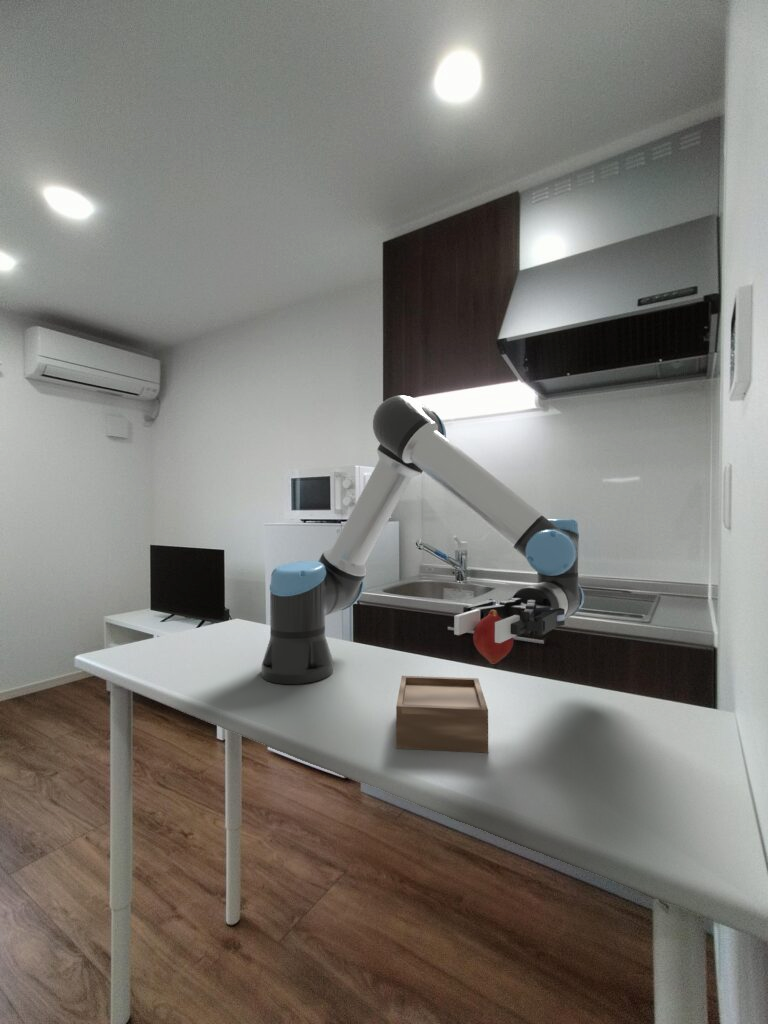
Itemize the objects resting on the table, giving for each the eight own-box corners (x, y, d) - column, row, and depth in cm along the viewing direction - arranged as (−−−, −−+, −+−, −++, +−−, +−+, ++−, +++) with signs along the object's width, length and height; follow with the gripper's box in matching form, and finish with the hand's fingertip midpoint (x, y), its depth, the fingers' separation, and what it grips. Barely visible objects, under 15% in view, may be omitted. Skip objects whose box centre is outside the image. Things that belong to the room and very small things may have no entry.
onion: (470, 657, 71) (470, 605, 71) (508, 657, 70) (507, 605, 71) (477, 669, 65) (476, 613, 65) (517, 669, 65) (517, 613, 65)
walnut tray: (401, 710, 78) (401, 675, 78) (478, 713, 77) (478, 678, 77) (396, 748, 65) (396, 706, 65) (488, 752, 64) (488, 709, 64)
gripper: (594, 635, 75) (542, 670, 58) (490, 619, 87) (421, 643, 70) (594, 590, 76) (542, 611, 58) (491, 580, 88) (421, 594, 70)
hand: (476, 628), depth 64 cm, fingers closed on onion, 6 cm apart
